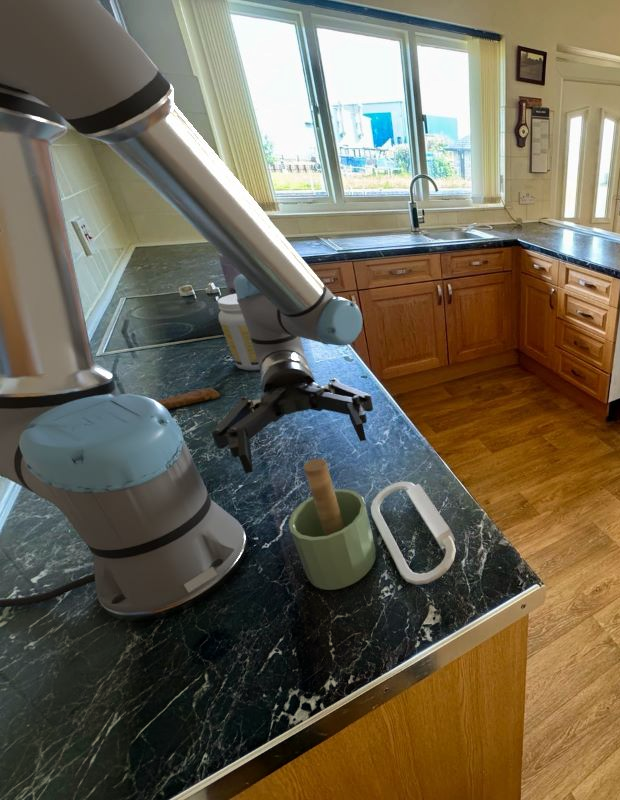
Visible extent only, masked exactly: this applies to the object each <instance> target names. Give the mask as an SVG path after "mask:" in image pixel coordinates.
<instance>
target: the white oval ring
mask: <svg viewBox="0 0 620 800" xmlns="http://www.w3.org/2000/svg"><path fill="white" fill-rule="evenodd" d="M401 490H405V492H406V494H407V496H408V497H409V499H410V501H411V502H412V505H413V506H414V507H415V509H416V510H417V512H418V514H419V515H420V518H421V519H422V520H423V522H424V523H425V525H426V527H427V529H428V530H429V532H430V533H431V535H432V537H433V538H434V540H435V541H436V543H437V544H438V546H439V547H440V549H441V551H442V553H444V557H443V559H442V560H441V562H440V563H439V564H438V565H437V566H436V567H435V568H433V569H432V570H430V571H428V572H424V573H423V572H422V573H417V572H413V570H412V569H411V568H410V567H409V564H408V563H407V561H406V559H405V557H404V555H403V553H402V551H401V549H400V548H399V545H398V543H397V542H396V540H395V538H394V536H393V534H392V532H391V530H390V528H389V526H388V524H387V522H386V520H385V519H384V517H383V514H382V513H381V510H380V509H381V504H382V502H383V501H384V500H385V499H386V498H387V497H388V496H389V495H391V494H393V493H395V492H397V491H401ZM370 514H371V518H372V520H373V522H374V524H375V526H376V528H377V530H378V532H379V534H380V536H381V538H382V540H383V542H384V544H385V546H386V548H387V550H388V552H389V554H390V556H391V558H392V560H393V562H394V564H395V566H396V568H397V570H398V573H399V574H400V576H401V577H402V578H403V579H404V580H405V581H406V582H407V583H409V584H412V585H415V586H420V585H427V584H430V583H433V582H434V581H436V580H438V579H440V578H441V577H442V576H443V575H444V574H445V573H447V571H448V570H449V569H450V568H451V566H452V564H453V563H454V561H455V556H456V552H457V548H456V545H455V541H456V538H455V536H454V533H453V532H452V530H451V528H450V527H449V525H448V524H447V522H446V521H445V519H444V517H442V515H441V514H440V512H439V511H438V509H437V508H436V506H435V505H434V503H433V502H432V500H431V498H430V497H429V495H428V494H427V493H426V491H425V490H424V489H423V487H422V485H421V484H420V483H417V484H414V483H413V482H412V481H398V482H394V483H392V484H390V485H387V486H386V487H384V488H383V489H382V490H380V491H379V492H378V493H377V495H376V496H375V497H374V498H373V499H372V502H371V505H370ZM444 549H445V550H444Z"/></svg>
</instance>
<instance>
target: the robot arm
mask: <svg viewBox="0 0 620 800" xmlns="http://www.w3.org/2000/svg"><path fill="white" fill-rule="evenodd" d="M67 123H68V124H69V125H70V126H71V127H72V128H73V129H74V130H75V131H77V133H78V134H80V135H81V136H82V137H84V138H87V139H92V140H96V141H100V142H103V143H104V144H106V145H107V146H108V148H110V149H111V150H112V151H113V152H114V153H115V154H116V155H117V156H118V157H120V159H122V160H123V162H124V163H125V164H127V165H128V166H129V167H130V168H131V170H133V171H134V172H135V173H136V174H137V175H138V176H139V177H140V178H141V179H142V180H143V181H144V182H145V183H147V185H148V186H149V187H150V188H151V189H152V190H154V191H155V192H156V193H157V195H159V196H160V197H161V198H162V199H163V200H164V201H165V202H166V203H167V204H168V205H169V206H170V207H171V208H172V209H173V210H175V211H176V212H177V214H179V216H181V217H182V218H183V219H184V220H185V221H186V222H187V223H188V224H189V225H190V226H191V227H192V228H193V229H194V230H195V231H196V232H197V233H199V235H201V236H202V237H203V238H204V240H205V241H207V242H208V243H209V244H210V245H211V246H212V247H213V248H214V249H215V250H216V251H217V252H218V253H219V255H220V254H221V255H223V256H224V257H225V258H226V259H227V260H228V261H229V262H230V263H231V264H232V265H233V266H234V267H235V268H236V269H237V270H238V271H239V272H240V273H241V274H240V275H238V276H236V277H235V279H234V287H235V291H236V295H237V302H238V303H239V306H240V309H241V311H242V314H243V317H244V320H245V323H246V325H247V328H248V331H249V334H250V338H251V341H252V345H253V348H254V351H255V354H256V357H257V360H258V364H259V368H260V370H259V372H260V375H259V376H260V380H261V385H262V392H263V395H262V396H261V397H260V398H258V399H249V396H241V397H240V398H239V399H238V402H237V405H236V406H235V407H234V408H232V409H231V411H229V412H228V414H226V416H225V417H224V418H223V419H222V420H220V422H219V423H218V424H217V425H216V426H215V427H214V428H213V429H212V430H211V431H210V433H211V436H212V438H213V441H214V443H215V446H216V448H217V449H224V448H227V447H228V449H229V451H230V453H231V456H232V457H233V458H237V457H238V458H239V460H240V463H241V466H242V469H243V471H244V473H245V474H250V473H253V472H254V470H253V460H252V450H251V449H252V447H251V443H250V441H249V440H250V439H252V438H254V436H256V435H257V434H258V433H260V432H261V431H262V430H264V428H266V427H267V426H268V425H270V424H271V423H276V422H278V421H279V420H280V419H282V418H283V417H285V415H286V416H287V415H293V414H294V413H297V412H304V411H309V410H312V411H315V412H321V411H323V410H324V411H328V412H332V413H337V414H343V415H346V416H347V415H348V416H349V421H350V423H351V424H352V427H353V429H354V431H355V433H356V435H357V438H358V439H359V442H363V441H366V440H367V438H366V433H365V429H364V424H366V423H367V422H368V420H367V413H366V412H371V411H373V410H374V405H373V400H372V396H371V393H368V392H365V391H362V390H359V389H357V388H355V387H352V386H350V385H348V384H345V383H343V382H340V380H339V379H338V378H335V377H334V378H330V379H329V383H327V384H325V385H320V384H318V383H317V382H316V380H315V377H314V375H313V372H312V370H311V367H310V365H309V362H308V360H307V357H306V354H305V350H304V346H303V343H302V339H304V340H305V339H306V340H308V341H309V340H310V341H312V342H313V341H314V342H317V343H320V344H323V345H327V346H328V345H331V346H338V347H344V346H348V345H350V344H352V343H353V342H355V341H356V340H357V338H358V337H359V335H360V334H361V331H362V328H363V314H362V312H361V309H360V307H359V306H358V305H357V304H356V303H355V302H354V301H352V300H350V299H346V298H344V297H342V296H336V295H334V294H333V293H332V291H331V290H330V289H329V288H328V287H327V286H326V285H325V283H324V282H323V281H322V280H321V279H320V277H319V276H318V275H317V274H316V273H315V271H313V269H312V268H311V267H310V265H309V264H308V263H307V262H306V261H305V260H304V259H303V257H302V256H301V254H299V252H298V251H297V250H296V249H295V248H294V247H293V245H292V244H291V243H290V242H289V240H288V239H287V238H286V237H285V235H284V234H283V233H282V232H281V231H280V229H279V228H278V227H277V226H276V225H275V224H274V223H273V221H272V220H271V219H270V217H268V215H267V214H266V213H265V212H264V210H263V209H262V208H261V207H260V206H259V204H258V203H257V202H256V201H255V200H254V198H253V197H252V196H251V195H250V194H249V192H248V191H247V190H246V189H245V187H244V186H243V185H242V184H241V183H240V181H239V180H238V179H237V178H236V177H235V176H234V174H233V173H232V172H231V171H230V170H229V168H228V167H227V166H226V165H225V163H224V162H223V161H222V160H221V159H220V158H219V156H218V155H217V154H216V153H215V151H214V150H213V149H212V148H211V147H210V146H209V144H208V143H207V142H206V141H205V140H204V139H203V137H202V136H201V135H200V134H199V132H197V131H198V130H196V129H195V128H194V127H193V125H192V124H191V123H190V122H189V121H188V119H187V118H186V117H185V116H184V114H183V113H182V112H181V110H179V109H178V107H177V106H176V105H175V102H174V87H173V85H172V83H171V82H170V81H169V80H168V79H167V78H166V76H165V75H164V74H163V73H162V72H161V70H160V68H158V67H157V65H156V64H155V63H154V62H153V60H151V58H150V57H149V56H148V55H147V53H146V52H145V51H144V50H143V48H142V47H141V46H140V44H139V43H138V42H137V41H136V40H135V39H134V38H133V37H132V35H130V34H129V32H128V31H127V30H126V29H125V28H124V27H123V26H122V25H121V23H119V21H118V20H117V19H116V18H115V17H114V16H113V15H112V14H111V13H110V12H109V11H108V10H107V9H106V8H105V6H104V5H102V4H101V2H100V1H98V0H0V477H2V478H5V479H8V480H9V481H11V482H12V483H14V484H17V485H18V486H20V487H22V488H24V489H26V490H27V491H29V492H31V493H33V494H35V495H37V496H39V497H40V498H42V499H44V500H45V501H47V502H49V503H51V504H52V505H54V506H55V507H57V508H58V510H59V511H60V512H61V513H62V514H63V515H64V516H65V518H66V519H67V520H68V521H69V523H70V524H71V526H72V527H73V528H74V530H75V531H76V533H77V534H78V535H79V537H80V538H81V539H82V541H83V542H84V544H85V545H86V546H87V547H88V549H89V550H90V552H91V553H92V558H93V570H94V571H93V573H90V574H88V575H85V576H83V577H80V578H78V579H75V580H73V581H72V580H71V581H70V582H68V583H65V584H63V585H61V586H59V587H56V588H54V589H52V590H48V591H46V592H43V593H38V594H34V595H29V596H21V597H12V598H0V608H10V607H21V606H26V605H27V606H29V605H34V604H39V603H42V602H46V601H49V600H52V599H55V598H58V597H60V596H62V595H64V594H66V593H69V592H70V591H73V590H76V589H78V588H81V587H83V586H86V585H88V584H91V583H93V582H94V585H95V594H96V596H97V600H98V602H99V604H100V605H101V606H102V607H103V609H104V610H105V611H106V612H107V613H108V615H110V616H111V617H112V618H113V619H117V620H120V621H125V622H144V621H146V622H147V621H152V620H156V619H160V618H161V619H162V618H163V617H167V616H171V615H172V614H176V613H178V612H181V611H183V610H185V609H187V608H189V607H191V606H194V605H195V604H197V603H200V602H201V601H202V600H205V598H207V597H209V596H210V595H212V594H213V593H214V592H216V591H217V590H218V589H220V588H221V587H222V586H223V585H224V584H225V583H227V581H229V580H230V579H231V578H232V576H233V575H234V574H235V573H236V572H237V571H238V569H239V568H240V566H242V564H243V562H244V561H245V559H246V556H247V554H248V551H249V550H248V549H249V538H248V535H247V533H246V531H245V529H244V527H243V525H242V524H241V523H240V522H239V521H238V520H237V519H236V518H235V517H233V516H232V515H231V514H230V513H229V512H228V511H226V510H225V509H223V507H221V506H220V505H218V503H216V502H215V501H214V500H212V498H211V496H210V494H209V491H208V490H207V487H206V485H205V482H204V480H203V478H202V476H201V473H200V472H199V470H198V467H197V465H196V463H195V461H194V458H193V456H192V454H191V452H190V450H189V447H188V446H187V443H186V441H185V439H184V436H183V432H182V429H181V427H180V425H179V424H178V423H177V422H176V420H175V419H174V418H173V416H172V415H171V413H170V412H169V409H168V410H167V409H166V408H165V407H164V406H163V405H162V404H160V403H159V402H157V401H158V400H155V399H153V398H150V397H147V396H144V395H140V394H139V395H138V394H132V393H131V394H130V393H121V394H119V395H118V392H117V388H116V382H115V378H114V373H112V372H111V371H110V370H108V369H106V368H104V367H102V366H101V365H100V364H97V363H96V362H95V361H94V359H93V354H92V349H91V343H90V338H89V334H88V328H87V323H86V319H85V313H84V309H83V304H82V299H81V293H80V289H79V283H78V278H77V274H76V273H77V272H76V267H75V264H74V257H73V254H72V249H71V244H70V238H69V234H68V229H67V224H66V223H67V222H66V218H65V213H64V208H63V203H62V198H61V193H60V188H59V184H58V178H57V174H56V173H57V172H56V168H55V163H54V159H53V152H52V145H53V144H54V143H55V142H56V141H57V140H59V139H60V138H61V137H63V136H64V135H66V134H67V133H68V125H67Z"/></svg>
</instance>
